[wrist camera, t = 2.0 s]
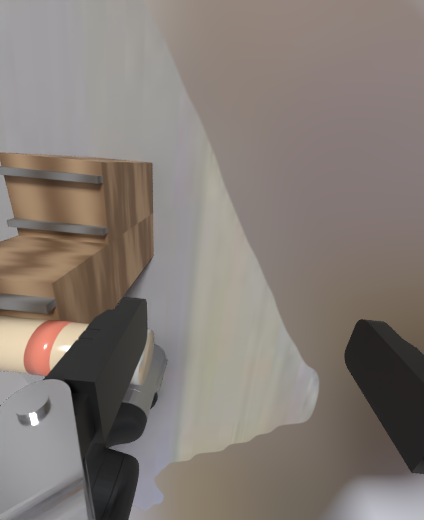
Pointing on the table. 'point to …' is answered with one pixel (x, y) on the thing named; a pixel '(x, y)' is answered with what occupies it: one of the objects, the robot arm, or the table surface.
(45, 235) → the stand
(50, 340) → the cream long cylinder
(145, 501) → the table surface
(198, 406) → the table surface
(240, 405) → the table surface
